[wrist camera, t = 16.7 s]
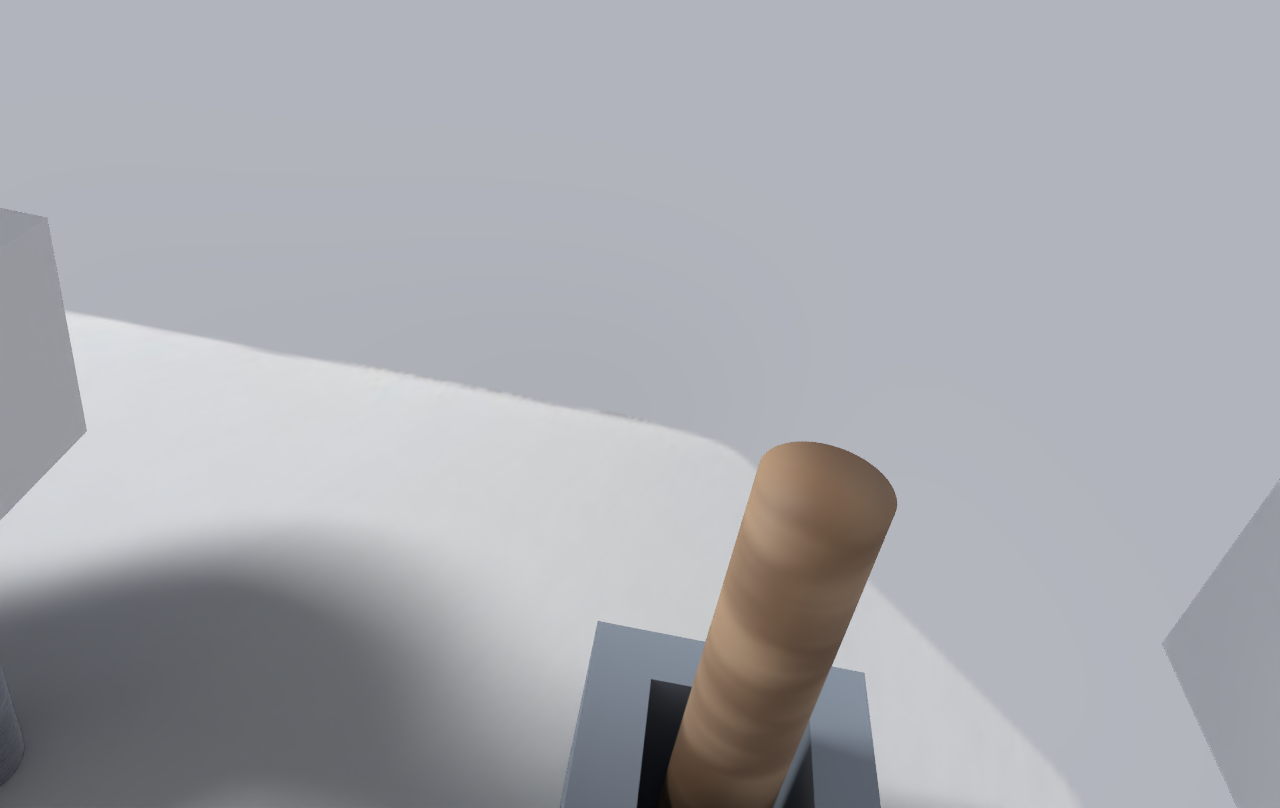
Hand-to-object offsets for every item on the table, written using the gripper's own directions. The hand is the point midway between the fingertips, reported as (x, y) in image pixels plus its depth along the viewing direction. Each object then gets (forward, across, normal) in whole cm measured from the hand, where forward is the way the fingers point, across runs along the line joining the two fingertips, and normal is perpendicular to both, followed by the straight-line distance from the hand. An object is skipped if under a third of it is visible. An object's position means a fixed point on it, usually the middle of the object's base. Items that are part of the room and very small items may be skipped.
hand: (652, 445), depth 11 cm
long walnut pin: (+13, +6, -32) cm, 35 cm away
